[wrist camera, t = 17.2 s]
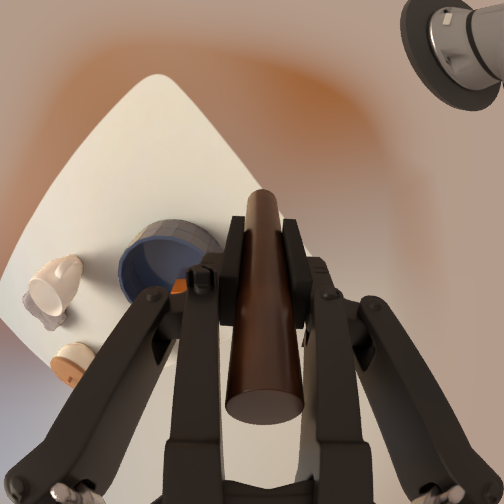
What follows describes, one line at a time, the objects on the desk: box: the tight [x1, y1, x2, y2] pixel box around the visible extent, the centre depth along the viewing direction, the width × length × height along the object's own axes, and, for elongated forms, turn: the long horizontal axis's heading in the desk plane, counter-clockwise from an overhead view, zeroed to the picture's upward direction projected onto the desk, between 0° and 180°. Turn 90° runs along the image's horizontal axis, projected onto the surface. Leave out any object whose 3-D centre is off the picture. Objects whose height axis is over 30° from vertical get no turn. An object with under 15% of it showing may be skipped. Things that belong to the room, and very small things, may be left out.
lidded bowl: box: [50, 342, 95, 388], centre depth 56 cm, size 13×13×11 cm
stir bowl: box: [118, 219, 224, 304], centre depth 45 cm, size 17×17×6 cm
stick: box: [225, 189, 305, 425], centre depth 15 cm, size 2×2×18 cm
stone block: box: [22, 291, 67, 331], centre depth 52 cm, size 12×5×10 cm
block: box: [171, 279, 187, 294], centre depth 47 cm, size 4×4×4 cm
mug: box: [29, 254, 83, 316], centre depth 42 cm, size 12×8×11 cm
